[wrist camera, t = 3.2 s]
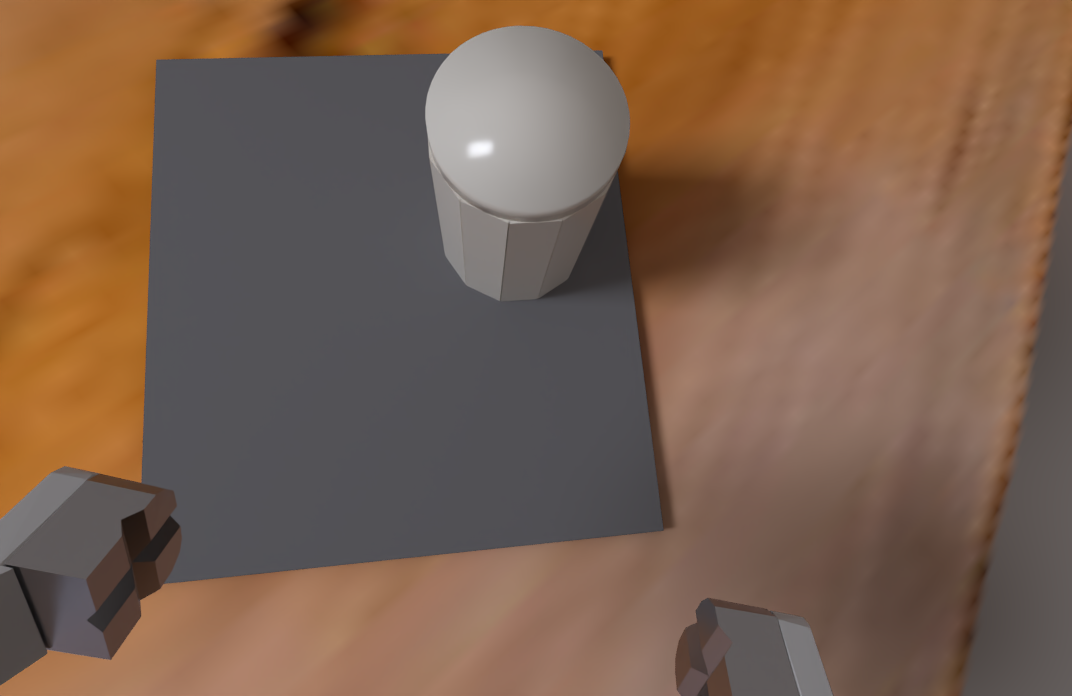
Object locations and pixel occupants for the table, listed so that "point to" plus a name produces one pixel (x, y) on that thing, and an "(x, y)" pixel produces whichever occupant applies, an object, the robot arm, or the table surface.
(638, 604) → the table surface
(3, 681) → the robot arm
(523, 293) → the cream tumbler
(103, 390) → the table surface
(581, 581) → the table surface
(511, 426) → the charcoal mat
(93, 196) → the table surface
